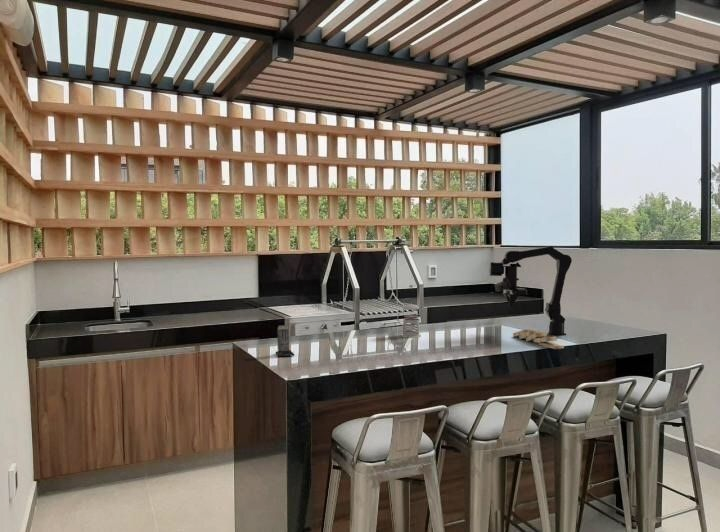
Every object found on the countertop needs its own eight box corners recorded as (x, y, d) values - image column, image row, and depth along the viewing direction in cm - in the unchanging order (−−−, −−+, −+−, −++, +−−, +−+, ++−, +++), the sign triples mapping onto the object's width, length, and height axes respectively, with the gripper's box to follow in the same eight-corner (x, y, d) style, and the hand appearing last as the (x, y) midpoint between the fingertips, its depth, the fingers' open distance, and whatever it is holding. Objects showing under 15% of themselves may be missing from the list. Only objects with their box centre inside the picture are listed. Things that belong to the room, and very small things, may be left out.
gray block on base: (272, 354, 228) (271, 324, 227) (290, 352, 231) (289, 323, 231) (279, 358, 219) (279, 328, 219) (298, 356, 223) (297, 326, 222)
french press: (422, 337, 264) (422, 285, 262) (397, 337, 264) (397, 285, 263) (420, 334, 274) (420, 283, 272) (396, 334, 274) (397, 283, 273)
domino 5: (548, 341, 248) (563, 345, 238) (548, 345, 248) (563, 349, 238) (539, 342, 246) (554, 346, 236) (538, 346, 246) (554, 350, 236)
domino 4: (543, 337, 249) (556, 336, 240) (544, 341, 249) (557, 340, 239) (533, 338, 248) (546, 337, 238) (534, 342, 248) (546, 341, 238)
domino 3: (535, 336, 256) (545, 331, 246) (536, 340, 255) (546, 335, 246) (525, 337, 255) (535, 332, 245) (526, 341, 254) (536, 336, 245)
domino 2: (528, 334, 261) (539, 330, 251) (529, 338, 260) (540, 334, 251) (519, 335, 260) (529, 331, 250) (519, 339, 259) (530, 335, 250)
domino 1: (522, 332, 267) (533, 329, 258) (522, 336, 266) (533, 333, 257) (512, 333, 266) (523, 329, 256) (513, 337, 265) (524, 333, 256)
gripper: (486, 275, 280) (486, 306, 280) (508, 277, 262) (507, 310, 263) (505, 274, 283) (505, 305, 284) (527, 277, 266) (527, 309, 267)
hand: (510, 307), depth 274 cm, fingers closed
